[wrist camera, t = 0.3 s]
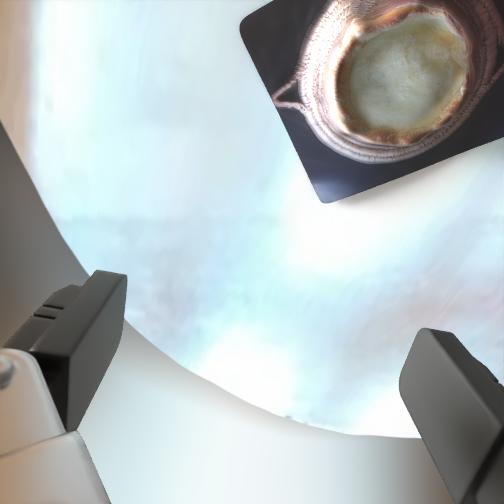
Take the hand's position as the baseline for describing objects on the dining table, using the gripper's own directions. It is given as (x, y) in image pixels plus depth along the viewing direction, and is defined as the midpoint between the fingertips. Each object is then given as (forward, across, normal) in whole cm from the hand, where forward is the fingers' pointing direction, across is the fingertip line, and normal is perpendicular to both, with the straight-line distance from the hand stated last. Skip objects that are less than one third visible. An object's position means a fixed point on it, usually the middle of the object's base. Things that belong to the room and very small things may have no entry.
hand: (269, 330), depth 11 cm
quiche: (+30, -11, -9) cm, 33 cm away
